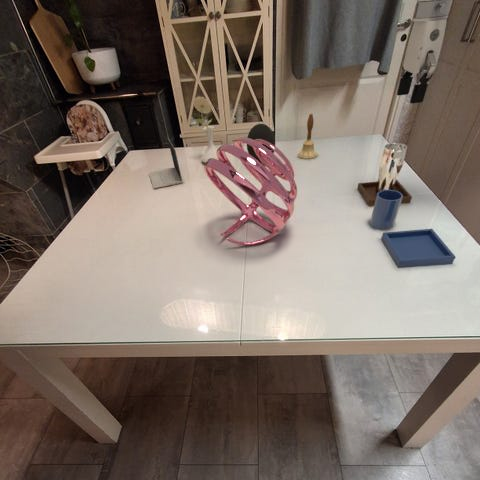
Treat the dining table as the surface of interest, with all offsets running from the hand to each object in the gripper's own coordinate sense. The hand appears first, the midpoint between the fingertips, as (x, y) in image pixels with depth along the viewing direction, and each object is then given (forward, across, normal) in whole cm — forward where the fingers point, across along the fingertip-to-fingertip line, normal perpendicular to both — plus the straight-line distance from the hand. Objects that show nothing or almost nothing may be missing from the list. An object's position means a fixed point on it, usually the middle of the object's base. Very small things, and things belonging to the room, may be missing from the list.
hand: (409, 98), depth 83 cm
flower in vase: (+28, +49, +63) cm, 85 cm away
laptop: (+27, +33, +83) cm, 94 cm away
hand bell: (+28, +44, +19) cm, 56 cm away
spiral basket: (+28, -17, +45) cm, 56 cm away
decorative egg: (+28, +41, +40) cm, 64 cm away
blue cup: (+28, -18, +6) cm, 34 cm away
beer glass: (+27, 0, 0) cm, 27 cm away
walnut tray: (+28, 0, 0) cm, 28 cm away
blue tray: (+28, -33, +2) cm, 43 cm away
